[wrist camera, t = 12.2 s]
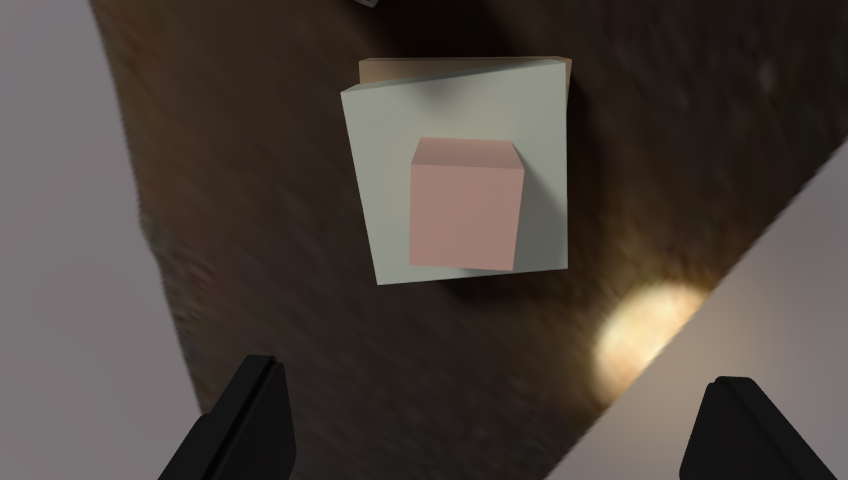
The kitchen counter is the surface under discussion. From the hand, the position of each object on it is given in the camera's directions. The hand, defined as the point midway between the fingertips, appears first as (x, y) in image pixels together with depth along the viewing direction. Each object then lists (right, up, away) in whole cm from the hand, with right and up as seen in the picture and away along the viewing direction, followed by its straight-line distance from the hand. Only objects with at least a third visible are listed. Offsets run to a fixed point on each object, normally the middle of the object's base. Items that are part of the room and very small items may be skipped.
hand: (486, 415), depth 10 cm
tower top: (+1, +9, +21) cm, 23 cm away
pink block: (+1, +7, +17) cm, 18 cm away
